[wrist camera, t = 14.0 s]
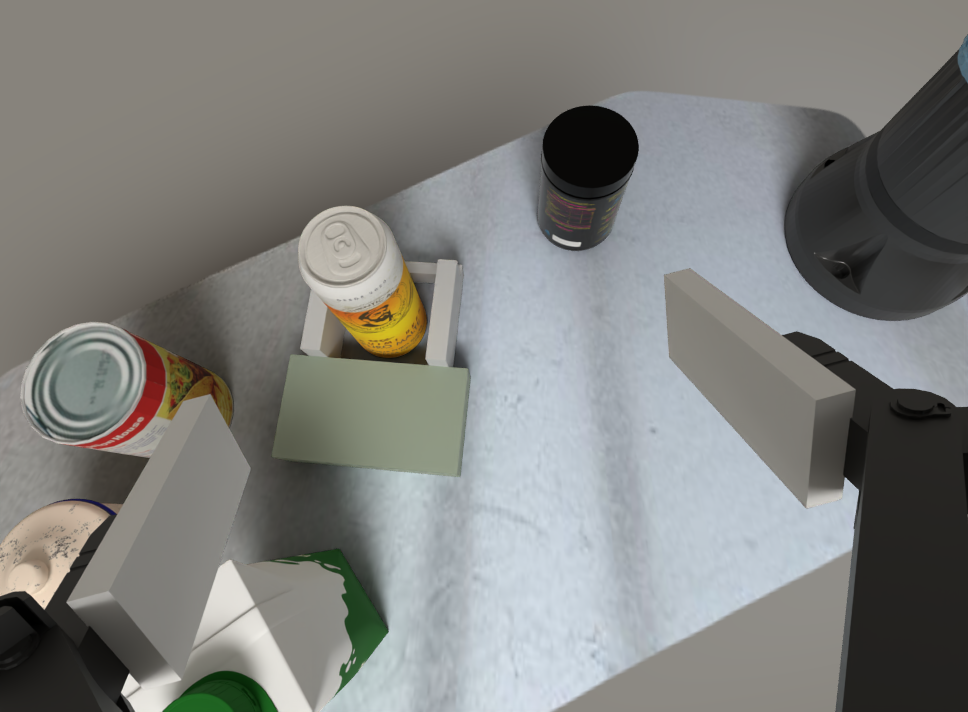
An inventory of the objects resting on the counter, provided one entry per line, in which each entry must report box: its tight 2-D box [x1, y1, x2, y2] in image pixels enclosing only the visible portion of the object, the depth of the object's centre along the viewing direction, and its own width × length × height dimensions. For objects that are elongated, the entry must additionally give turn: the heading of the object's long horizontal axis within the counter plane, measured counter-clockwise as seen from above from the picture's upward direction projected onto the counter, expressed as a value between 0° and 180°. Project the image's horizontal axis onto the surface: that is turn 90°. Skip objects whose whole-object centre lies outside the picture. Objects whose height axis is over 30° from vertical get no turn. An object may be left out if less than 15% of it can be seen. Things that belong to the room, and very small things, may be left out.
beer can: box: [298, 206, 427, 358], centre depth 41 cm, size 6×6×15 cm
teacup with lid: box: [0, 499, 123, 609], centre depth 38 cm, size 12×9×12 cm
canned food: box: [20, 322, 234, 458], centre depth 42 cm, size 8×8×12 cm
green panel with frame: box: [271, 259, 471, 477], centre depth 45 cm, size 14×17×5 cm
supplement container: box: [537, 106, 639, 251], centre depth 45 cm, size 7×7×10 cm
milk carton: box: [121, 549, 389, 712], centre depth 33 cm, size 9×9×20 cm
